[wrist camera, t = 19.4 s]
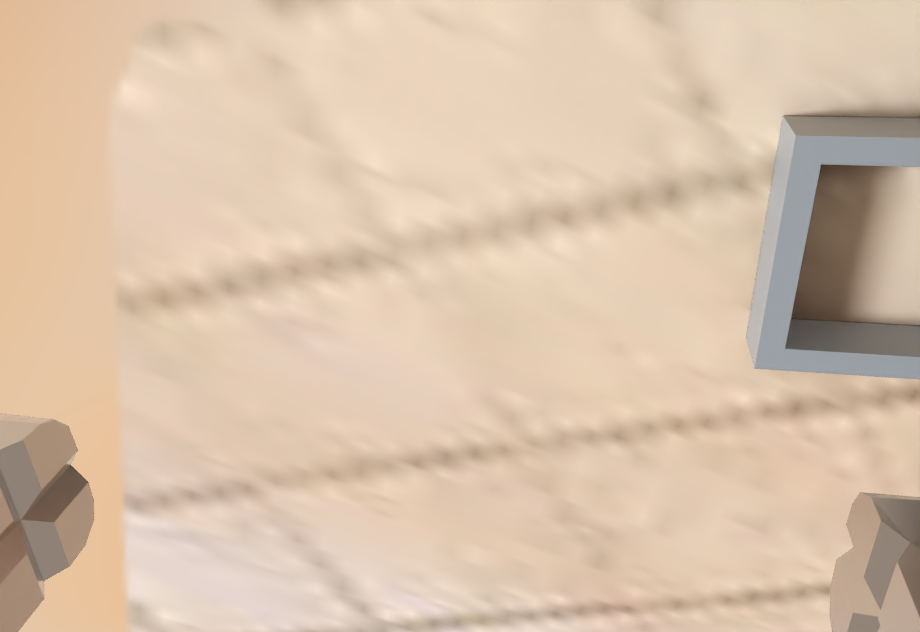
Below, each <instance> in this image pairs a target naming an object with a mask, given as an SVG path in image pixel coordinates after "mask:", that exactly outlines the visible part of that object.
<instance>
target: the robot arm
mask: <svg viewBox="0 0 920 632" xmlns="http://www.w3.org/2000/svg"><path fill="white" fill-rule="evenodd" d="M77 451H78V449H77V447H76V444H75V441H74V439H73V436H72V434H71V431H70V429H69V426H67V425H65V424H63V423H61V422H58V421H56V420H53V419H45V418H36V417H27V416H19V415H10V414H0V632H18V631H19V630H20V629H21V627H22V626H23V625H24V623H25V622H26V621H27V620H28V618H29V617H30V616H31V615H32V613H33V612H34V611H35V610H36V608H37V607H38V606H39V605H40V603H41V602H42V601H43V600H44V581H45V580H46V579H48V578H50V577H52V576H53V575H55V574H57V573H59V572H60V571H62V570H64V569H66V568H68V567H69V566H70V565H71V564H72V563H73V561H74V560H75V559H76V557H77V556H78V555H79V553H80V552H81V551H82V549H83V548H84V547H85V545H86V542H87V539H88V536H89V533H90V530H91V527H92V524H93V521H94V499H93V496H92V493H91V489H90V486H89V483H88V481H86V479H85V478H84V477H82V475H81V474H79V473H78V472H77V471H76V470H75V469H74V468H73V467H72V466H71V463H72V461H73V459H74V457H75V455H76V453H77ZM846 525H847V528H848V531H849V534H850V537H851V540H852V543H853V546H854V547H853V548H852V549H851V550H849V551H848V552H846V553H845V554H844V555H842V556H841V557H839V558H838V559H837V560H836V565H835V569H834V573H833V578H832V582H831V591H830V620H831V627H832V632H920V497H910V496H899V495H887V494H875V493H863V492H860V493H859V495H858V496H857V498H856V499H855V501H854V502H853V504H852V507H851V510H850V514H849V517H848V520H847V524H846Z"/></svg>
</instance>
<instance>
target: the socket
mask: <svg viewBox="0 0 920 632" xmlns="http://www.w3.org/2000/svg"><path fill="white" fill-rule="evenodd" d="M821 164H824V165H863V166H903V167H920V118H888V117H826V116H783V119H782V125H781V131H780V137H779V143H778V149H777V155H776V161H775V167H774V173H773V179H772V185H771V191H770V197H769V203H768V209H767V215H766V221H765V227H764V233H763V239H762V245H761V251H760V257H759V263H758V269H757V275H756V281H755V287H754V293H753V299H752V305H751V311H750V317H749V323H748V329H747V335H746V338H747V342H748V346H749V350H750V353H751V357H752V361H753V365H754V368H755V369H769V370H784V371H799V372H814V373H830V374H845V375H860V376H875V377H890V378H906V379H920V326H911V325H893V324H875V323H857V322H839V321H821V320H803V319H791V315H792V310H793V305H794V300H795V295H796V290H797V285H798V280H799V275H800V269H801V264H802V259H803V254H804V249H805V244H806V239H807V234H808V229H809V223H810V218H811V213H812V208H813V203H814V198H815V193H816V188H817V183H818V177H819V172H820V167H821Z"/></svg>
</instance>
